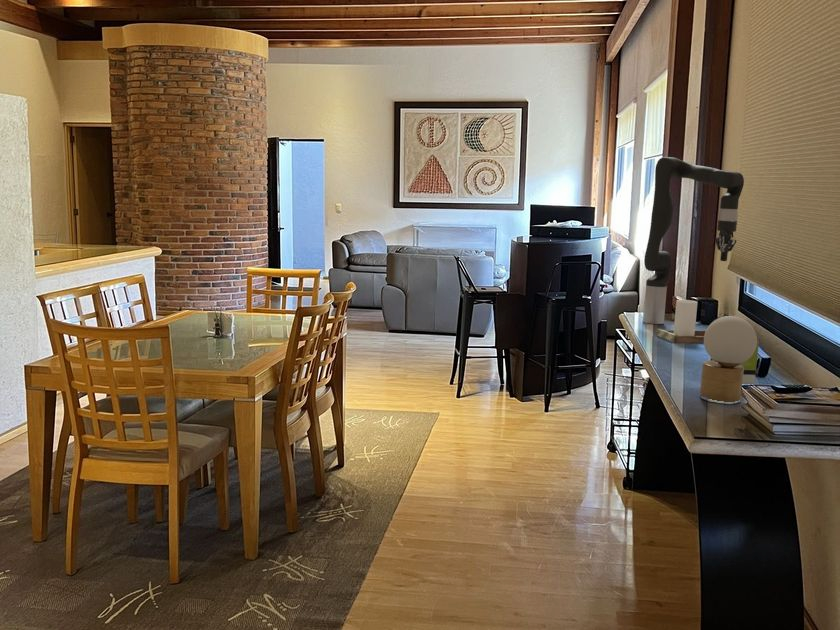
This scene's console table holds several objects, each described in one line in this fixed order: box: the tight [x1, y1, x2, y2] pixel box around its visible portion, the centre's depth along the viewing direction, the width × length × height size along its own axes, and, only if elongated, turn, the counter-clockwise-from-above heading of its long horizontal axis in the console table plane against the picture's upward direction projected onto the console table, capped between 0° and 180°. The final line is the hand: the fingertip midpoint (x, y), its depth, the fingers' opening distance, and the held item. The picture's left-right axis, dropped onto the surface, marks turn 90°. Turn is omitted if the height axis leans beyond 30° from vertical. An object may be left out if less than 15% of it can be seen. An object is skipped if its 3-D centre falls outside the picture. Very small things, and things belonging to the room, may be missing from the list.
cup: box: [673, 299, 698, 336], centre depth 326 cm, size 8×8×16 cm
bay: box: [656, 328, 707, 344], centre depth 328 cm, size 15×24×3 cm, turn 101°
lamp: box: [699, 315, 758, 402], centre depth 227 cm, size 15×14×25 cm
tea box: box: [709, 340, 760, 385], centre depth 256 cm, size 15×10×15 cm
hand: (723, 260), depth 336 cm, fingers closed
